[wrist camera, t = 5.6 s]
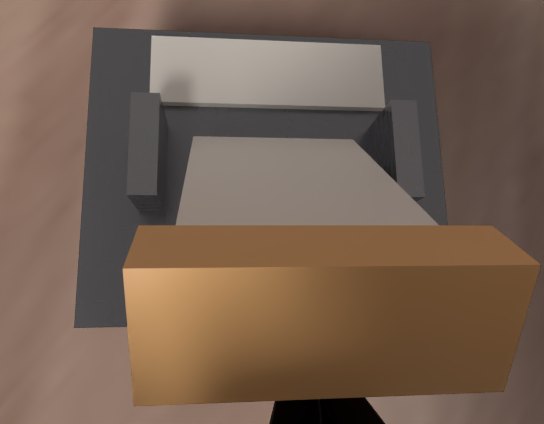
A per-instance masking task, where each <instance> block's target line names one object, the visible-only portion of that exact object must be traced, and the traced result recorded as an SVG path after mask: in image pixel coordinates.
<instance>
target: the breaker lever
mask: <svg viewBox="0 0 544 424" xmlns="http://www.w3.org/2000/svg"><path fill="white" fill-rule="evenodd" d="M540 267H541V264H539V263H538V262H537V261H536V260H535V259H533V258H532V257H531V256H530V255H528V254H527V253H526V252H525V251H523V250H522V249H521V248H520V247H518V246H517V245H516V244H515V243H513V242H512V241H511V240H510V239H508V238H507V237H506V236H505V235H503V234H502V233H501V232H500V231H498V230H497V229H496V228H495V227H493V226H441V225H438V224H437V223H436V222H435V221H434V220H433V219H432V218H431V217H430V216H429V215H428V214H427V213H426V212H425V211H424V210H423V209H422V208H421V207H420V206H419V205H418V204H417V203H416V202H415V201H414V200H413V199H412V198H411V197H410V196H409V195H408V194H407V193H406V192H405V191H404V190H403V189H402V188H401V187H400V186H399V185H398V184H397V183H396V182H395V181H394V180H393V179H392V178H391V177H390V176H389V175H388V174H387V173H386V172H385V171H384V170H383V169H382V168H381V167H380V166H379V165H378V164H377V163H376V162H375V161H374V160H373V159H372V158H371V157H370V156H369V155H368V154H367V153H366V152H365V151H364V150H363V149H362V148H361V147H360V146H359V145H358V144H357V143H356V142H355V141H354V140H353V139H310V138H260V137H210V136H193V140H192V145H191V150H190V155H189V160H188V165H187V170H186V175H185V180H184V185H183V190H182V195H181V200H180V205H179V210H178V215H177V220H176V225H138V228H137V231H136V233H135V236H134V239H133V242H132V244H131V247H130V250H129V252H128V255H127V258H126V261H125V263H124V266H123V280H124V292H125V304H126V316H127V328H128V340H129V352H130V364H131V376H132V388H133V400H134V406H155V405H180V404H206V403H231V402H257V401H282V400H307V399H333V398H358V397H384V396H409V395H434V394H460V393H485V392H504V389H505V386H506V383H507V379H508V376H509V372H510V369H511V366H512V362H513V359H514V355H515V352H516V348H517V345H518V342H519V338H520V335H521V331H522V328H523V325H524V321H525V318H526V314H527V311H528V308H529V304H530V301H531V297H532V294H533V290H534V287H535V284H536V280H537V277H538V273H539V270H540Z"/></svg>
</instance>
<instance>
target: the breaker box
mask: <svg viewBox="0 0 544 424" xmlns="http://www.w3.org/2000/svg"><path fill="white" fill-rule="evenodd" d="M193 136H210V137H260V138H310V139H353V140H354V141H355V142H356V143H357V144H358V145H359V146H360V147H361V148H362V149H363V150H364V151H365V152H366V153H367V154H368V155H369V156H370V157H371V158H372V159H373V160H374V161H375V162H376V163H377V164H378V165H379V166H380V167H381V168H382V169H383V170H384V171H385V172H386V173H387V174H388V175H389V176H390V177H391V178H392V179H393V180H394V181H395V182H396V183H397V184H398V185H399V186H400V187H401V188H402V189H403V190H404V191H405V192H406V193H407V194H408V195H409V196H410V197H411V198H412V199H413V200H414V201H415V202H416V203H417V204H418V205H419V206H420V207H421V208H422V209H423V210H424V211H425V212H426V213H427V214H428V215H429V216H430V217H431V218H432V219H433V220H434V221H435V222H436V223H437V224H438V225H441V226H448V223H447V213H446V203H445V192H444V182H443V172H442V162H441V151H440V141H439V131H438V121H437V110H436V100H435V90H434V80H433V70H432V59H431V49H430V42H419V41H395V40H372V39H349V38H326V37H303V36H280V35H257V34H234V33H210V32H187V31H164V30H141V29H118V28H95V27H93V42H92V57H91V73H90V89H89V104H88V120H87V136H86V151H85V167H84V182H83V198H82V214H81V229H80V245H79V261H78V276H77V292H76V307H75V323H74V328H94V327H127V316H126V304H125V292H124V280H123V266H124V263H125V261H126V258H127V255H128V252H129V250H130V247H131V244H132V242H133V239H134V236H135V233H136V231H137V228H138V225H176V220H177V215H178V210H179V205H180V200H181V195H182V190H183V185H184V180H185V175H186V170H187V165H188V160H189V155H190V150H191V145H192V140H193Z"/></svg>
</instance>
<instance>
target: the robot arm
mask: <svg viewBox="0 0 544 424" xmlns="http://www.w3.org/2000/svg"><path fill="white" fill-rule="evenodd" d="M269 424H385V423H384V422H383V420H382V419H381V418H380V416H379V415H378V414H377V412H376V411H375V410H374V409H373V407H372V406H371V405H370V403H369V402H368V401H367V400H366V398H365V397H358V398H333V399H307V400H282V401H275V403H274V407H273V411H272V415H271V419H270V423H269Z"/></svg>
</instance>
